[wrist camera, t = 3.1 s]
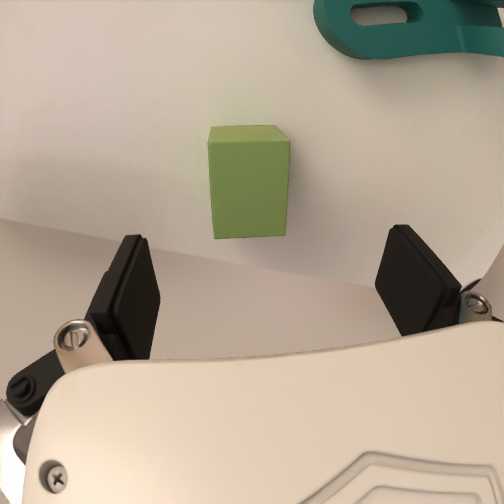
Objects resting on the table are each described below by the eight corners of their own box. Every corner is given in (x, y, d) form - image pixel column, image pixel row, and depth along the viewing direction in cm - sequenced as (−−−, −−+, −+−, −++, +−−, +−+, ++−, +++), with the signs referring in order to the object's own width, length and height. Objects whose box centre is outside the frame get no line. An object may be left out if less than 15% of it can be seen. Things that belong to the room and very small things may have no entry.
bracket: (473, -13, 11) (534, -15, 4) (491, 50, 15) (554, 63, 8) (299, -16, 13) (340, -56, 7) (331, 67, 17) (389, 68, 10)
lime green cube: (215, 205, 22) (214, 239, 18) (211, 126, 19) (207, 142, 15) (273, 202, 22) (285, 236, 18) (275, 125, 19) (290, 140, 15)
